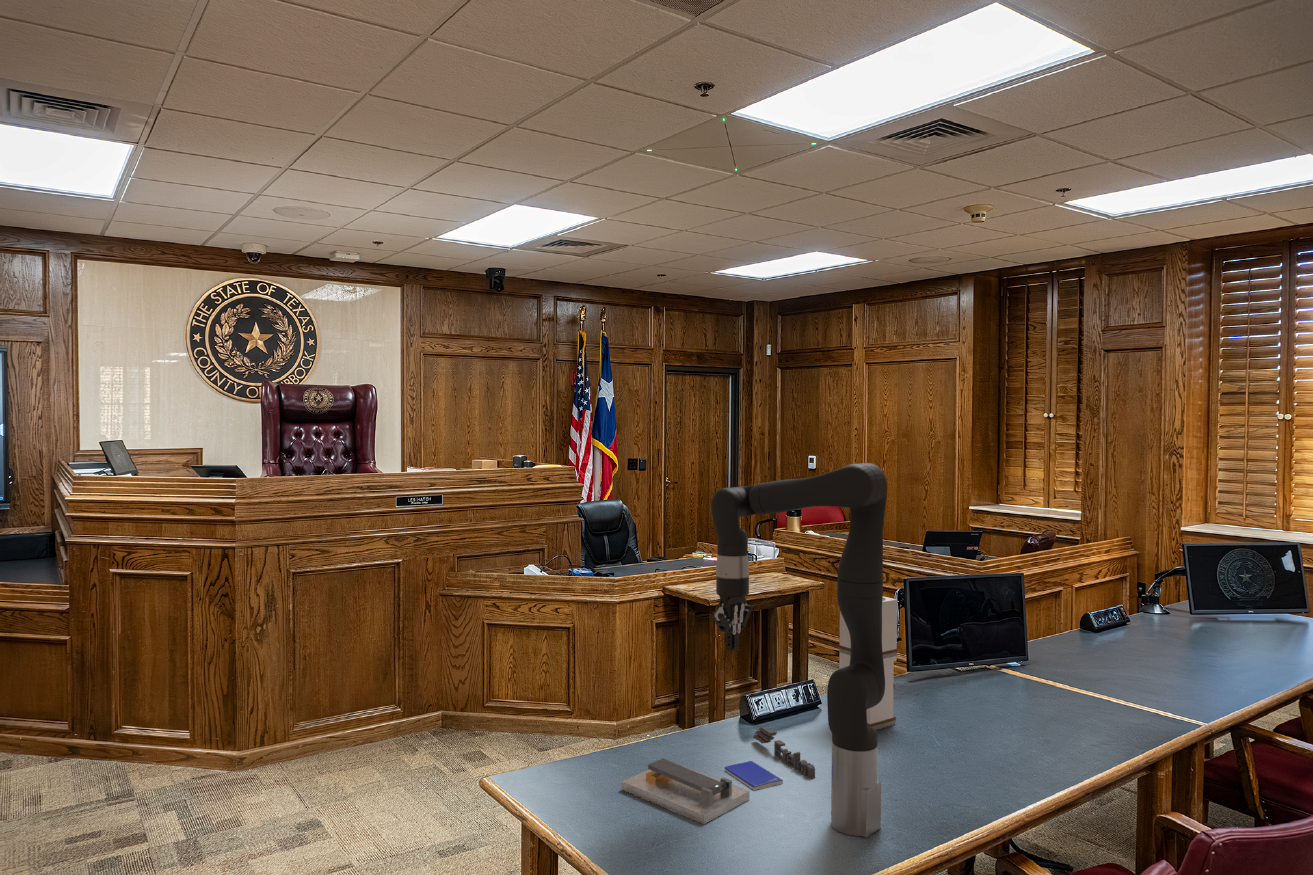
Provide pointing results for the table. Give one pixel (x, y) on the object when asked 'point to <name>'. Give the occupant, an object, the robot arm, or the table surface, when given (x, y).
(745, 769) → the hard drive
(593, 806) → the table surface
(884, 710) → the tall open-top box
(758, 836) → the table surface
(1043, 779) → the table surface
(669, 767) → the flat pivoting pedal
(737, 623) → the robot arm
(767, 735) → the extruded letter logo
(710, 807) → the mounting plate
